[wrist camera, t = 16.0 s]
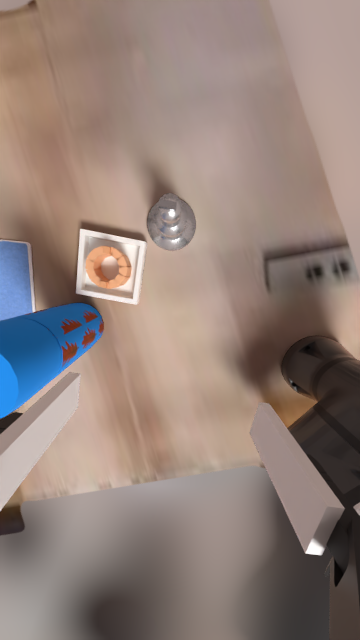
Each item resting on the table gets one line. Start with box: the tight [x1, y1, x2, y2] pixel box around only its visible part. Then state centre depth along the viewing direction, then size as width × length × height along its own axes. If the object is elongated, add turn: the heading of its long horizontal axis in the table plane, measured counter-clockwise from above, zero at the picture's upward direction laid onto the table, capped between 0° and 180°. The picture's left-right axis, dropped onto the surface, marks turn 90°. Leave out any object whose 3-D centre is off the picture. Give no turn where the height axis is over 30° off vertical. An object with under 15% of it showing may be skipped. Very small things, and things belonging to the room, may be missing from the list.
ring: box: [85, 246, 132, 289], centre depth 39 cm, size 8×8×5 cm
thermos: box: [0, 303, 104, 419], centre depth 33 cm, size 11×11×25 cm
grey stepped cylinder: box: [147, 193, 196, 251], centre depth 35 cm, size 10×10×12 cm
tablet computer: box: [0, 239, 36, 321], centre depth 43 cm, size 19×13×1 cm, turn 175°
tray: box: [76, 229, 147, 305], centre depth 41 cm, size 13×13×2 cm
